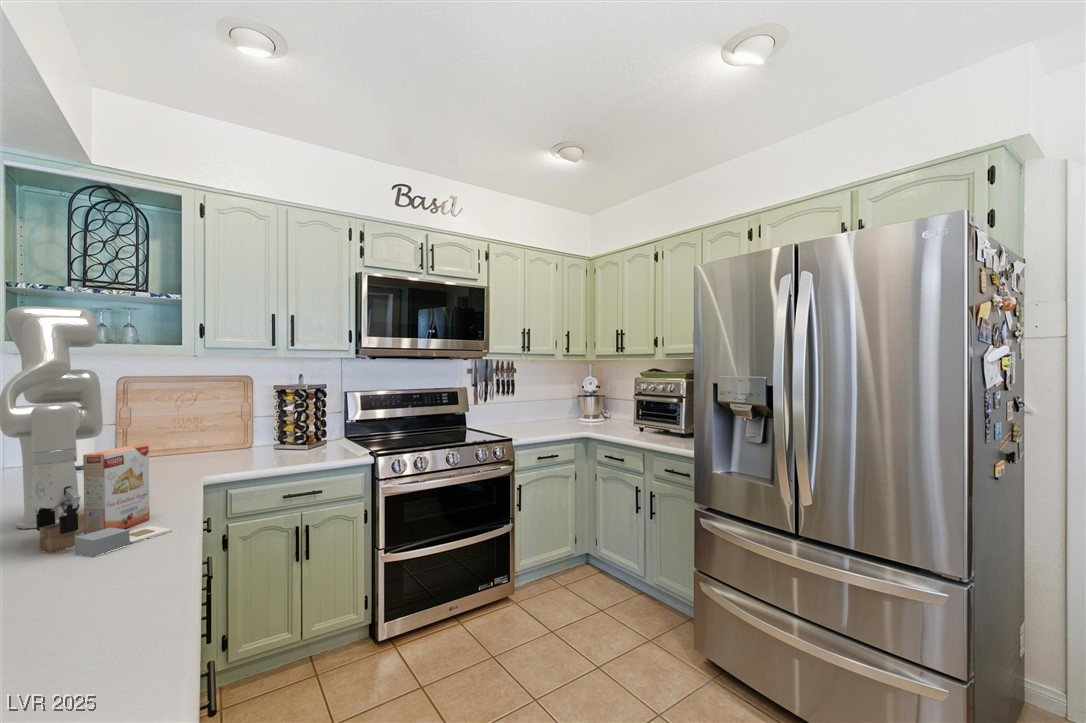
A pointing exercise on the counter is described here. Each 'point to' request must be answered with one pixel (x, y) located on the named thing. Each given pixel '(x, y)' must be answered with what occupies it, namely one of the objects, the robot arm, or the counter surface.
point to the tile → (147, 533)
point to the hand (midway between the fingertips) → (57, 530)
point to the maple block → (80, 522)
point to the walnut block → (55, 539)
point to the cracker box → (116, 488)
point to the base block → (101, 541)
